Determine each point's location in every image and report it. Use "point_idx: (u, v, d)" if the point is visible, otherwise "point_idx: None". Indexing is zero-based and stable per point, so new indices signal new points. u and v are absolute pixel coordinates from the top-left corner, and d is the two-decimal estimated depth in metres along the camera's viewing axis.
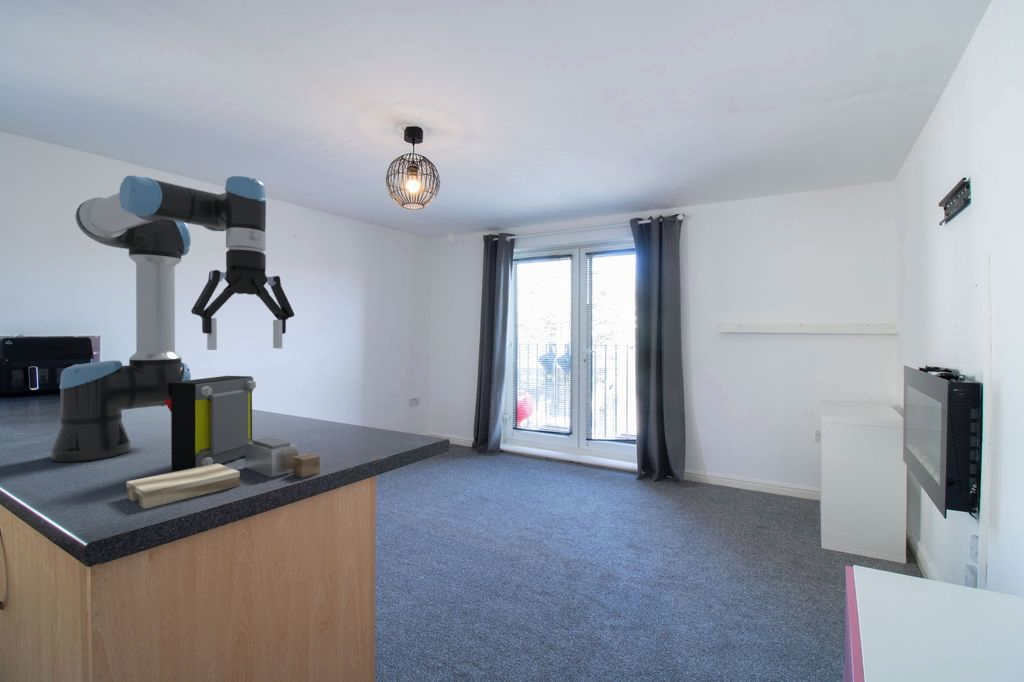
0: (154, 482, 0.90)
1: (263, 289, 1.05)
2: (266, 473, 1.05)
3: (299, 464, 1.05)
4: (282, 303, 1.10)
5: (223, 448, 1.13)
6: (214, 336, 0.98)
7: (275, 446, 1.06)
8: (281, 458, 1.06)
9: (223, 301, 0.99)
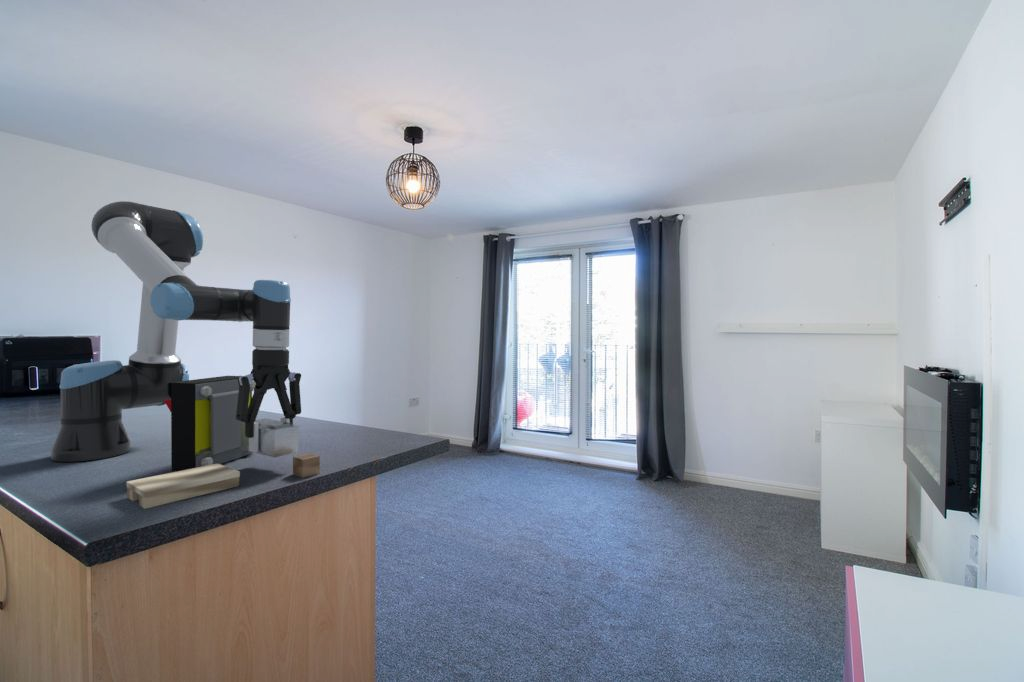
0: (154, 482, 0.90)
1: (283, 385, 1.10)
2: (267, 453, 1.06)
3: (299, 464, 1.05)
4: (294, 399, 1.14)
5: (223, 448, 1.13)
6: (256, 440, 1.06)
7: (276, 426, 1.07)
8: (283, 438, 1.07)
9: (259, 403, 1.07)
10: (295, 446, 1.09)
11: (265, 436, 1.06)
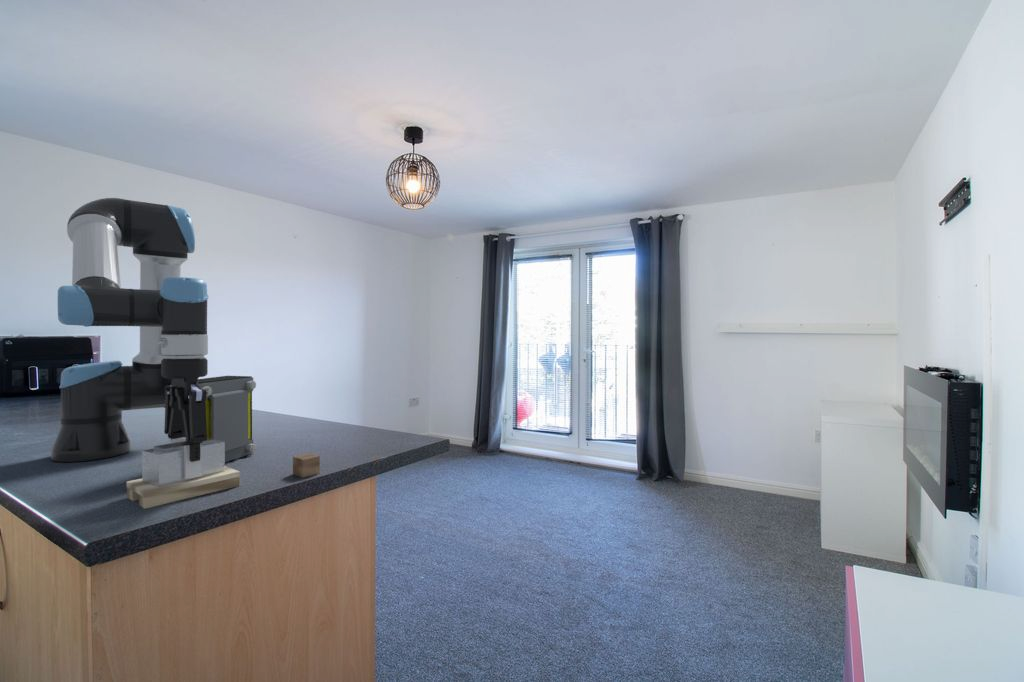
0: None
1: (179, 402, 0.91)
2: None
3: (299, 464, 1.05)
4: None
5: None
6: None
7: (155, 448, 0.91)
8: (147, 463, 0.89)
9: (172, 418, 0.95)
10: (156, 479, 0.88)
11: None
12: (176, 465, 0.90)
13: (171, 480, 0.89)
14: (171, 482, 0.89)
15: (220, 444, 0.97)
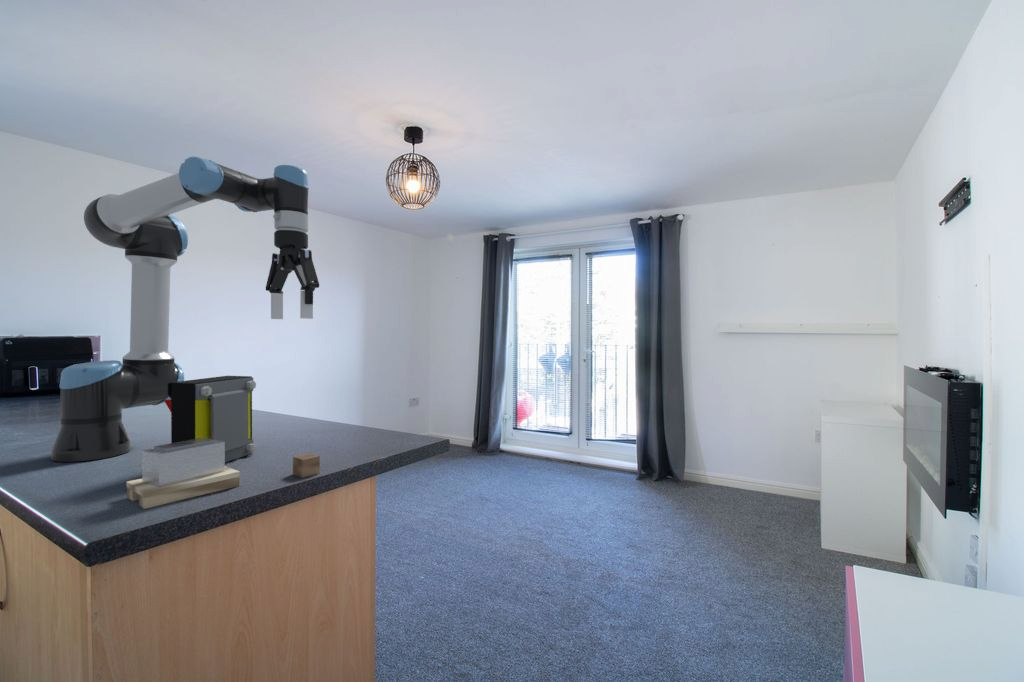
0: None
1: (290, 263, 1.14)
2: None
3: (299, 464, 1.05)
4: None
5: None
6: (271, 307, 1.20)
7: (155, 448, 0.91)
8: (147, 463, 0.89)
9: (275, 278, 1.19)
10: (156, 479, 0.88)
11: None
12: (176, 465, 0.90)
13: (171, 480, 0.89)
14: (171, 482, 0.89)
15: (220, 444, 0.97)
